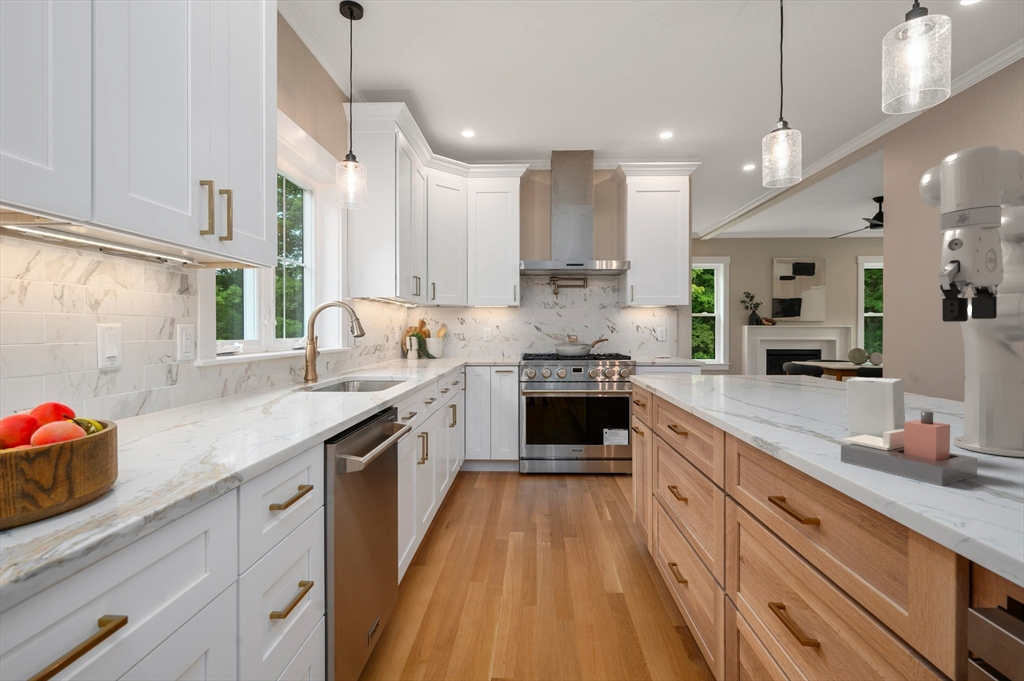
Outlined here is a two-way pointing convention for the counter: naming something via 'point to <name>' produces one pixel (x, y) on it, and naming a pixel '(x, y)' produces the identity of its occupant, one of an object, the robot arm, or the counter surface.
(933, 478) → the socket
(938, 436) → the plug
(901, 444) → the cream stepped block
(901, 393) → the skincare box
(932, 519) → the counter surface
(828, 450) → the counter surface
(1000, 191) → the robot arm
